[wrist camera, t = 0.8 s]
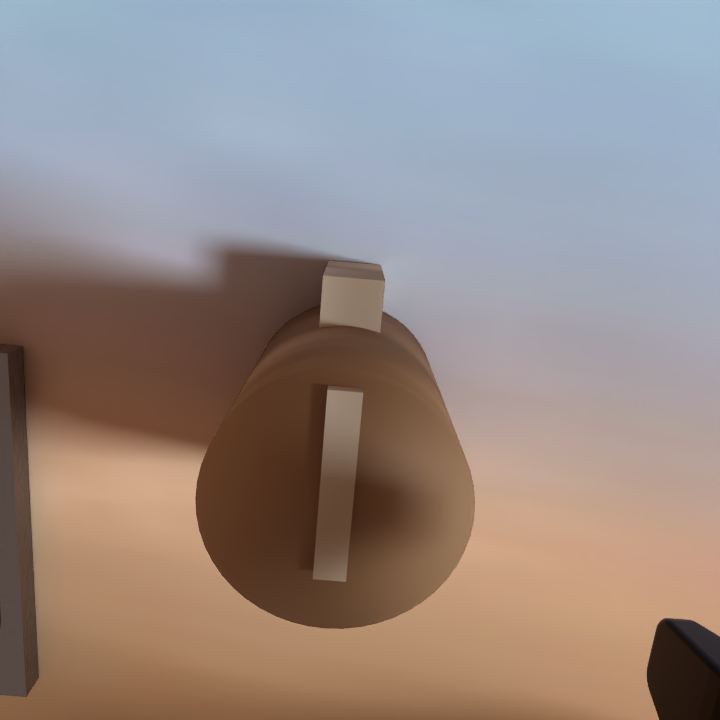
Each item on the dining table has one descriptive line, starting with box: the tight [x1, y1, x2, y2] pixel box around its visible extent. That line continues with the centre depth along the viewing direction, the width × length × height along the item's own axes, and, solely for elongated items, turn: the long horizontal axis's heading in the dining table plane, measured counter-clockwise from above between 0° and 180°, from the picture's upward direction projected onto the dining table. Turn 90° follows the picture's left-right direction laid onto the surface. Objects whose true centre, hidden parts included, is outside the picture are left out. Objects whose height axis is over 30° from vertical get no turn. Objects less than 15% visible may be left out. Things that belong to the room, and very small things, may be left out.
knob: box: [196, 261, 475, 629], centre depth 15 cm, size 5×6×7 cm
